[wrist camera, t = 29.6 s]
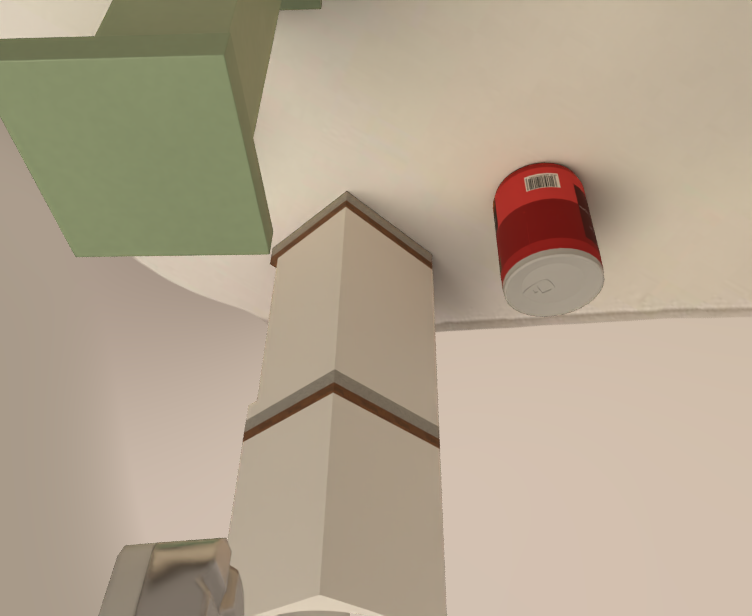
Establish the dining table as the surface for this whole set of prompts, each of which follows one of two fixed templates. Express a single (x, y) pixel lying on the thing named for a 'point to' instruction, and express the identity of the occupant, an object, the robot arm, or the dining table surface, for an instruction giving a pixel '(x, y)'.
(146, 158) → the stand
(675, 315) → the dining table surface
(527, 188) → the canned food
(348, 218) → the white channel column
